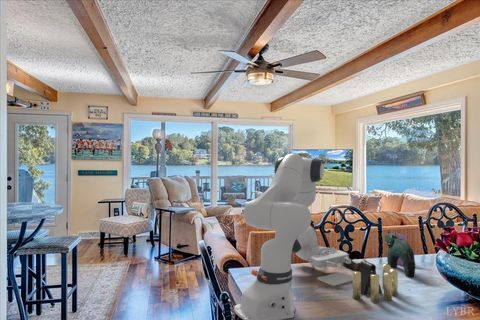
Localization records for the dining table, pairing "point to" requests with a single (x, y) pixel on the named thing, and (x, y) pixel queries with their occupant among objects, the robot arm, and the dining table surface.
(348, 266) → the bolt
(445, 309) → the dining table surface
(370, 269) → the phone stand
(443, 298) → the dining table surface
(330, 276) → the mat
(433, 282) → the dining table surface
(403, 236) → the toy chair
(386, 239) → the green animal figurine
